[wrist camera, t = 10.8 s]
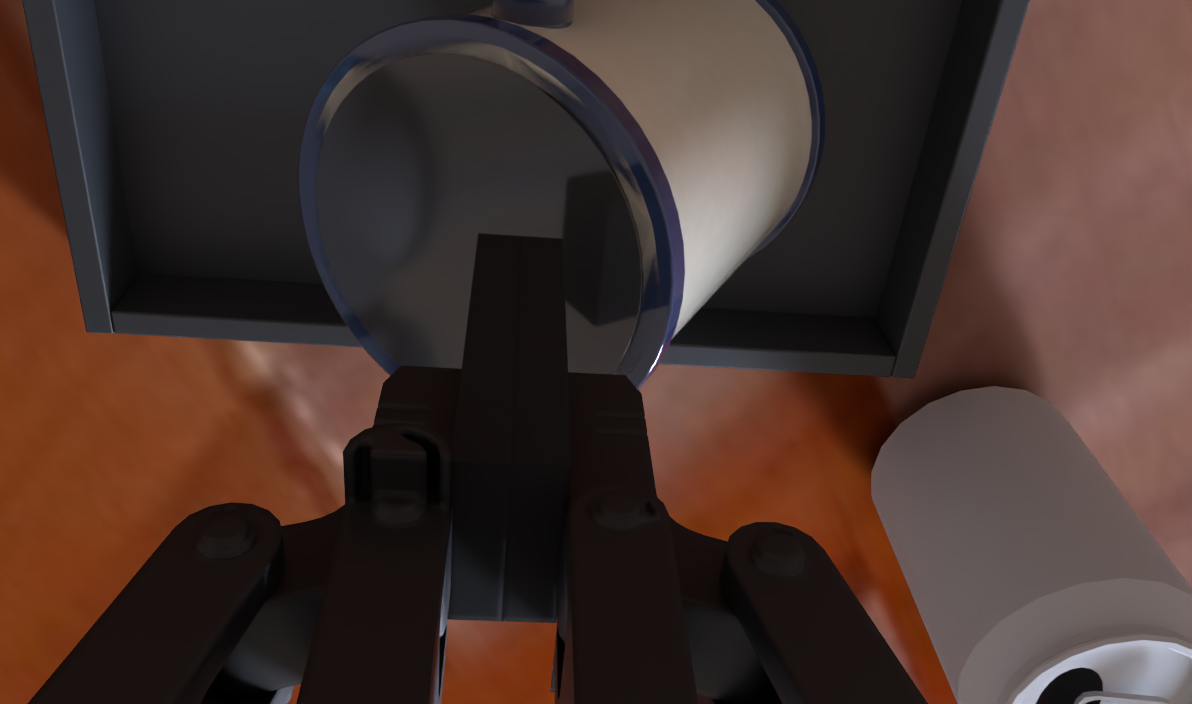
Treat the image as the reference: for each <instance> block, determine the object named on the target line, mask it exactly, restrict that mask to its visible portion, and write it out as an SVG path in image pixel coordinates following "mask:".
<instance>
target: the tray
mask: <svg viewBox="0 0 1192 704" xmlns="http://www.w3.org/2000/svg"><path fill="white" fill-rule="evenodd" d="M777 1H778V3H779V4H780V5H781V6H782V7H783V8H784V9H785V10H786V12H787V13H788V15H789V16H790V17H791V19H792V20H793V21H794V23H795V24H796V26H797V27H798V29H799V31H800V33H801V34H802V36H803V38H804V40H805V42H806V44H807V45H808V47H809V50H810V52H811V55H812V57H813V60H814V63H815V65H816V68H817V71H818V75H819V79H820V83H821V87H822V91H823V99H824V107H825V140H824V146H823V153H822V159H821V162H820V166H819V169H818V173H817V176H816V179H815V181H814V184H813V186H812V188H811V191H810V193H809V195H808V197H807V199H806V200H805V202H804V204H803V205H802V207H801V208H800V210H799V212H798V213H797V215H796V216H795V217H794V218H793V219H792V221H791V222H790V223H789V224H788V225H787V227H786V228H785V229H784V230H783V231H782V232H781V233H780V234H779V235H778V236H777V237H776V238H775V239H774V240H773V241H772V242H770V243H769V244H768V245H767V246H766V247H765V248H763V249H762V250H760V251H759V252H757V253H756V254H754V255H753V256H751V257H750V258H748V259H746V260H745V261H744V262H743V263H742V264H741V266H740V267H739V268H738V269H737V270H736V271H735V272H734V273H733V274H732V275H731V276H730V277H729V278H728V279H727V281H726V282H725V283H724V284H723V285H722V286H721V287H720V288H719V289H718V290H717V291H716V292H715V293H714V295H713V296H712V297H711V298H710V299H709V300H708V301H707V302H706V303H705V304H704V305H703V306H702V307H701V309H700V310H699V311H698V312H697V313H696V314H695V315H694V316H693V317H692V318H691V319H690V320H689V321H688V323H687V324H686V325H685V326H684V327H683V328H682V329H681V330H680V331H679V332H678V333H677V334H676V335H675V337H674V338H673V339H672V340H671V342H670V345H669V347H668V349H667V351H666V353H665V354H664V356H663V358H662V360H661V361H660V363H659V364H668V365H685V366H703V367H721V368H739V369H757V370H774V371H792V372H810V373H828V374H846V375H863V376H881V377H890V376H892V377H900V378H914V377H915V375H916V372H917V369H918V365H919V362H920V359H921V356H922V352H923V349H924V346H925V342H926V339H927V336H928V333H929V329H930V326H931V323H932V319H933V316H934V313H935V310H936V306H937V303H938V300H939V296H940V293H941V290H942V287H943V283H944V280H945V277H946V273H947V270H948V267H949V264H950V260H951V257H952V254H953V250H954V247H955V244H956V241H957V237H958V234H959V231H960V227H961V224H962V221H963V218H964V214H965V211H966V208H967V204H968V201H969V198H970V195H971V191H972V188H973V185H974V181H975V178H976V175H977V172H978V168H979V165H980V162H981V158H982V155H983V152H984V149H985V145H986V142H987V139H988V135H989V132H990V129H991V126H992V122H993V119H994V116H995V112H996V109H997V106H998V103H999V99H1000V96H1001V93H1002V89H1003V86H1004V83H1005V80H1006V76H1007V73H1008V70H1009V66H1010V63H1011V60H1012V57H1013V53H1014V50H1015V47H1016V43H1017V40H1018V37H1019V34H1020V30H1021V27H1022V24H1023V20H1024V17H1025V14H1026V11H1027V7H1028V4H1029V1H1030V0H777ZM22 2H23V7H24V12H25V17H26V22H27V27H28V33H29V38H30V43H31V48H32V53H33V58H34V64H35V69H36V74H37V79H38V84H39V89H40V95H41V100H42V105H43V110H44V115H45V120H46V125H47V131H48V136H49V141H50V146H51V151H52V156H53V162H54V167H55V172H56V177H57V182H58V187H59V193H60V198H61V203H62V208H63V213H64V218H65V224H66V229H67V234H68V239H69V244H70V249H71V255H72V260H73V265H74V270H75V275H76V280H77V286H78V291H79V296H80V301H81V306H82V311H83V316H84V322H85V327H86V331H87V332H91V333H109V334H112V333H114V332H115V333H117V334H134V335H152V336H169V337H187V338H205V339H223V340H241V341H258V342H276V343H294V344H312V345H330V346H347V347H363V346H362V345H361V344H360V343H359V341H358V340H357V339H356V338H355V336H354V335H353V334H352V332H351V331H350V329H349V328H348V326H347V325H346V323H345V322H344V320H343V319H342V317H341V316H340V314H339V313H338V311H337V309H336V308H335V306H334V304H333V302H332V300H331V298H330V297H329V295H328V293H327V291H326V289H325V287H324V285H323V282H322V280H321V278H320V275H319V273H318V271H317V269H316V266H315V263H314V260H313V257H312V254H311V251H310V248H309V245H308V242H307V238H306V234H305V229H304V225H303V220H302V216H301V207H300V199H299V186H298V165H299V155H300V146H301V140H302V135H303V131H304V127H305V123H306V119H307V116H308V114H309V111H310V109H311V106H312V103H313V101H314V98H315V96H316V95H317V93H318V91H319V89H320V88H321V86H322V84H323V82H324V81H325V79H326V77H327V76H328V75H329V73H330V72H331V71H332V70H333V68H334V67H335V66H336V65H337V64H338V62H339V61H340V60H341V59H342V58H343V57H344V56H345V55H346V54H347V53H348V52H350V51H351V50H352V49H353V48H354V47H355V46H356V45H358V44H359V43H360V42H362V41H364V40H365V39H367V38H369V37H370V36H372V35H374V34H375V33H377V32H379V31H381V30H384V29H387V28H389V27H392V26H395V25H397V24H400V23H403V22H406V21H409V20H413V19H416V18H421V17H427V16H432V15H438V14H468V13H471V12H474V11H478V10H481V9H484V8H487V7H490V6H491V0H22Z"/></svg>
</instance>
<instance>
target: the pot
mask: <svg viewBox="0 0 1192 704" xmlns="http://www.w3.org/2000/svg"><path fill="white" fill-rule="evenodd" d="M824 140H825V107H824V99H823V91H822V87H821V83H820V79H819V75H818V71H817V68H816V65H815V63H814V60H813V57H812V55H811V52H810V50H809V47H808V45H807V44H806V42H805V40H804V38H803V36H802V34H801V33H800V31H799V29H798V27H797V26H796V24H795V23H794V21H793V20H792V19H791V17H790V16H789V15H788V13H787V12H786V10H785V9H784V8H783V7H782V6H781V5H780V4H779V3H778V1H777V0H491V6H490V7H487V8H484V9H481V10H478V11H474V12H471V13H468V14H438V15H432V16H427V17H421V18H416V19H413V20H409V21H406V22H403V23H400V24H397V25H395V26H392V27H389V28H387V29H384V30H381V31H379V32H377V33H375V34H374V35H372V36H370V37H369V38H367V39H365V40H364V41H362V42H360V43H359V44H358V45H356V46H355V47H354V48H353V49H352V50H351V51H350V52H348V53H347V54H346V55H345V56H344V57H343V58H342V59H341V60H340V61H339V62H338V64H337V65H336V66H335V67H334V68H333V70H332V71H331V72H330V73H329V75H328V76H327V77H326V79H325V81H324V82H323V84H322V86H321V88H320V89H319V91H318V93H317V95H316V96H315V98H314V101H313V103H312V106H311V109H310V111H309V114H308V116H307V119H306V123H305V127H304V131H303V135H302V140H301V146H300V155H299V165H298V186H299V199H300V207H301V216H302V220H303V225H304V229H305V234H306V238H307V242H308V245H309V248H310V251H311V254H312V257H313V260H314V263H315V266H316V269H317V271H318V273H319V275H320V278H321V280H322V282H323V285H324V287H325V289H326V291H327V293H328V295H329V297H330V298H331V300H332V302H333V304H334V306H335V308H336V309H337V311H338V313H339V314H340V316H341V317H342V319H343V320H344V322H345V323H346V325H347V326H348V328H349V329H350V331H351V332H352V334H353V335H354V336H355V338H356V339H357V340H358V341H359V343H360V344H361V345H362V346H363V348H364V349H365V350H366V351H367V353H368V354H369V355H370V356H371V357H372V358H373V359H374V360H375V361H376V362H377V363H378V364H379V365H380V366H381V367H382V368H383V369H384V371H385V372H387V373H388V374H389V375H390V376H391V375H392V374H393V373H394V372H395V371H396V370H397V369H398V368H399V367H400V366H419V367H438V368H457V369H462V362H463V354H464V346H465V337H466V329H467V321H468V313H469V305H470V297H471V288H472V280H473V272H474V264H475V256H476V247H477V239H478V233H483V234H498V235H514V236H529V237H545V238H560V239H563V258H564V283H565V307H566V332H567V356H568V372H573V373H592V374H611V375H626V376H627V377H628V378H629V380H630V381H631V382H632V383H633V385H634V386H635V387H636V388H637V389H638V390H639V389H640V388H641V387H642V385H643V384H644V383H645V382H646V381H647V379H648V378H649V377H650V376H651V374H652V373H653V372H654V371H655V370H656V368H657V366H658V365H659V363H660V361H661V360H662V358H663V356H664V354H665V353H666V351H667V349H668V347H669V345H670V342H671V340H672V339H673V338H674V337H675V335H676V334H677V333H678V332H679V331H680V330H681V329H682V328H683V327H684V326H685V325H686V324H687V323H688V321H689V320H690V319H691V318H692V317H693V316H694V315H695V314H696V313H697V312H698V311H699V310H700V309H701V307H702V306H703V305H704V304H705V303H706V302H707V301H708V300H709V299H710V298H711V297H712V296H713V295H714V293H715V292H716V291H717V290H718V289H719V288H720V287H721V286H722V285H723V284H724V283H725V282H726V281H727V279H728V278H729V277H730V276H731V275H732V274H733V273H734V272H735V271H736V270H737V269H738V268H739V267H740V266H741V264H742V263H743V262H744V261H745V260H746V259H748V258H750V257H751V256H753V255H754V254H756V253H757V252H759V251H760V250H762V249H763V248H765V247H766V246H767V245H768V244H769V243H770V242H772V241H773V240H774V239H775V238H776V237H777V236H778V235H779V234H780V233H781V232H782V231H783V230H784V229H785V228H786V227H787V225H788V224H789V223H790V222H791V221H792V219H793V218H794V217H795V216H796V215H797V213H798V212H799V210H800V208H801V207H802V205H803V204H804V202H805V200H806V199H807V197H808V195H809V193H810V191H811V188H812V186H813V184H814V181H815V179H816V176H817V173H818V169H819V166H820V162H821V159H822V153H823V146H824Z"/></svg>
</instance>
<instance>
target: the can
mask: <svg viewBox="0 0 1192 704" xmlns="http://www.w3.org/2000/svg"><path fill="white" fill-rule="evenodd" d="M871 497H872V500H873V502H874V505H875V507H876V509H877V512H878V514H879V517H880V519H881V521H882V524H883V526H884V529H885V531H886V533H887V536H888V538H889V540H890V543H891V545H892V548H893V550H894V552H895V555H896V557H897V560H898V562H899V564H900V567H901V569H902V572H903V574H904V576H905V579H906V581H907V584H908V586H909V588H910V591H911V593H912V596H913V598H914V600H915V603H916V605H917V608H918V610H919V612H920V615H921V617H922V620H923V622H924V624H925V627H926V629H927V631H928V634H929V636H930V639H931V641H932V643H933V646H934V648H935V651H936V653H937V655H938V658H939V660H940V663H941V665H942V667H943V670H944V672H945V675H946V677H947V679H948V682H949V684H950V687H951V689H952V691H953V694H954V696H955V699H956V701H957V703H958V704H1192V588H1191V587H1190V585H1189V584H1188V582H1187V581H1186V580H1185V578H1184V577H1183V576H1182V574H1181V573H1180V572H1179V570H1178V569H1177V568H1176V566H1175V565H1174V564H1173V562H1172V561H1171V560H1170V558H1169V557H1168V556H1167V554H1166V553H1165V551H1164V550H1163V549H1162V547H1161V546H1160V545H1159V543H1158V542H1157V541H1156V539H1155V538H1154V537H1153V535H1152V534H1151V533H1150V531H1149V530H1148V529H1147V527H1146V526H1145V524H1144V523H1143V522H1142V520H1141V519H1140V518H1139V516H1138V515H1137V514H1136V512H1135V511H1134V510H1133V508H1132V507H1131V506H1130V504H1129V503H1128V502H1127V500H1126V499H1125V498H1124V496H1123V495H1122V493H1121V492H1120V491H1119V489H1118V488H1117V487H1116V485H1115V484H1114V483H1113V481H1112V480H1111V479H1110V477H1109V476H1108V475H1107V473H1106V472H1105V471H1104V469H1103V468H1102V467H1101V465H1100V464H1099V462H1098V461H1097V460H1096V458H1095V457H1094V456H1093V454H1092V453H1091V452H1090V450H1089V449H1088V448H1087V446H1086V445H1085V444H1084V442H1083V441H1082V440H1081V438H1080V437H1079V435H1078V434H1077V433H1076V431H1075V430H1074V429H1073V427H1072V426H1071V425H1070V423H1069V422H1068V421H1067V420H1066V419H1065V417H1064V416H1063V415H1062V414H1061V413H1060V412H1059V411H1058V410H1057V408H1056V407H1055V406H1054V405H1053V404H1052V403H1051V402H1049V401H1047V400H1045V399H1043V398H1041V397H1039V396H1037V395H1035V394H1033V393H1031V392H1029V391H1026V390H1021V389H1013V388H1006V387H998V386H991V387H984V388H976V389H969V390H962V391H959V392H956V393H954V394H951V395H949V396H946V397H943V398H941V399H938V400H936V401H933V402H931V403H928V404H927V405H926V406H924V407H923V408H921V409H920V410H919V411H917V412H916V413H914V414H913V415H911V416H910V417H909V418H907V419H906V420H904V421H903V422H902V423H901V424H900V425H899V426H898V427H897V428H896V430H895V431H894V432H893V433H892V434H891V436H890V437H889V438H888V439H887V441H886V442H885V443H884V444H883V445H882V447H881V449H880V451H879V454H878V456H877V459H876V462H875V464H874V467H873V469H872V472H871Z"/></svg>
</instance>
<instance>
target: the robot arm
mask: <svg viewBox="0 0 1192 704" xmlns="http://www.w3.org/2000/svg"><path fill="white" fill-rule="evenodd" d="M644 416H645V414H644V408H643V401H642V394H641V393H640V392H639V391H638V389H637V388H636V387H635V386H634V385H633V383H632V382H631V381H630V380H629V378H628V377H627V376H626V375H611V374H592V373H573V372H568V356H567V332H566V307H565V283H564V258H563V239H560V238H545V237H529V236H514V235H498V234H483V233H478V239H477V247H476V256H475V264H474V272H473V280H472V288H471V297H470V305H469V313H468V321H467V329H466V337H465V346H464V354H463V362H462V369H457V368H438V367H419V366H400V367H399V368H398V369H397V370H396V371H395V372H394V373H393V374H392V375H391V376H390V377H389V378H388V379H387V380H386V381H385V382H384V383H383V386H382V391H381V395H380V399H379V403H378V408H377V412H376V416H375V420H374V425H373V427H372V428H369V429H366V430H364V431H362V432H361V433H359V434H358V435H356V436H355V437H353V438H352V439H350V441H349V443H348V444H347V446H346V448H345V449H344V451H343V460H344V483H345V505H344V506H342V507H341V508H339V509H338V510H337V511H335V512H333V513H331V514H328V515H326V516H324V517H322V518H318V519H314V520H311V521H307V522H302V523H297V524H291V525H286V526H281V525H280V521H279V520H278V519H277V518H276V517H275V516H274V515H273V514H272V513H271V512H270V511H269V510H266V509H264V508H261V507H258V506H256V505H253V504H244V503H226V504H220V505H215V506H209V507H207V508H205V509H202V510H200V511H198V512H195V513H193V514H191V515H189V516H188V517H187V518H185V519H184V520H183V521H182V522H181V523H180V524H178V525H177V526H176V527H175V528H174V529H173V530H172V531H171V533H170V534H169V535H168V536H167V537H166V539H165V540H164V541H163V542H162V543H161V545H160V546H159V547H158V548H157V549H156V551H155V552H154V553H153V554H152V555H151V557H150V558H149V559H148V560H147V561H146V563H145V564H144V565H143V566H142V567H141V569H140V570H139V571H138V572H137V573H136V575H135V576H134V577H133V578H132V579H131V581H130V582H129V583H128V584H127V585H126V587H125V588H124V589H123V590H122V591H121V593H120V594H119V595H118V596H117V597H116V599H115V600H114V601H113V602H112V603H111V605H110V606H109V607H108V608H107V609H106V611H105V612H104V613H103V614H102V615H101V617H100V618H99V619H98V620H97V621H96V622H95V624H94V625H93V626H92V627H91V628H90V630H89V631H88V632H87V633H86V634H85V636H84V637H83V638H82V639H81V640H80V642H79V643H78V644H77V645H76V646H75V648H74V649H73V650H72V651H71V652H70V654H69V655H68V656H67V657H66V658H65V660H64V661H63V662H62V663H61V664H60V666H59V667H58V668H57V669H56V670H55V672H54V673H53V674H52V675H51V676H50V678H49V679H48V680H47V681H46V682H45V684H44V685H43V686H42V687H41V688H40V690H39V691H38V692H37V693H36V694H35V696H34V697H33V698H32V699H31V700H30V702H29V703H28V704H287V703H288V701H289V700H290V698H291V695H292V692H293V689H294V685H298V684H301V687H300V691H299V695H298V699H297V703H296V704H441V698H442V688H443V677H444V667H445V657H446V636H447V619H454V620H485V621H517V622H548V623H556V620H557V632H556V642H555V652H554V661H553V671H552V681H551V691H550V692H555V704H698V703H699V704H928V703H927V702H926V700H925V699H924V697H923V696H922V694H921V693H920V691H919V690H918V688H917V687H916V685H915V684H914V683H913V681H912V680H911V678H910V677H909V675H908V674H907V672H906V671H905V669H904V668H903V666H902V665H901V663H900V662H899V660H898V659H897V657H896V656H895V654H894V653H893V651H892V650H891V648H890V647H889V645H888V644H887V642H886V641H885V639H884V638H883V636H882V635H881V633H880V632H879V630H878V629H877V627H876V626H875V624H874V623H873V622H872V620H871V619H870V617H869V616H868V614H867V613H866V611H865V610H864V608H863V607H862V605H861V604H860V602H859V601H858V599H857V598H856V596H855V595H854V593H853V592H852V590H851V589H850V587H849V586H848V584H847V583H846V581H845V580H844V578H843V577H842V575H841V574H840V572H839V571H838V569H837V568H836V566H835V565H834V563H833V562H832V561H831V559H830V558H829V556H828V555H827V553H826V552H825V550H824V549H823V548H822V547H821V546H820V545H819V544H818V543H817V542H816V541H815V540H814V539H813V538H812V537H811V536H809V535H807V534H805V533H804V532H802V531H800V530H798V529H796V528H794V527H791V526H787V525H783V524H780V523H776V522H756V523H752V524H749V525H746V526H742V527H740V528H739V529H738V530H737V531H735V532H734V533H733V534H732V535H731V536H730V537H729V540H728V542H727V541H723V540H719V539H716V538H712V537H708V536H705V535H702V534H699V533H696V532H694V531H691V530H689V529H687V528H685V527H683V526H682V525H680V524H678V523H676V522H675V521H674V520H673V519H672V518H671V517H670V516H669V514H668V512H667V510H666V508H665V505H664V503H663V502H662V501H660V500H659V499H658V498H657V495H656V489H655V482H654V475H653V468H652V462H651V455H650V448H649V441H648V436H647V428H646V421H645V419H644Z"/></svg>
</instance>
